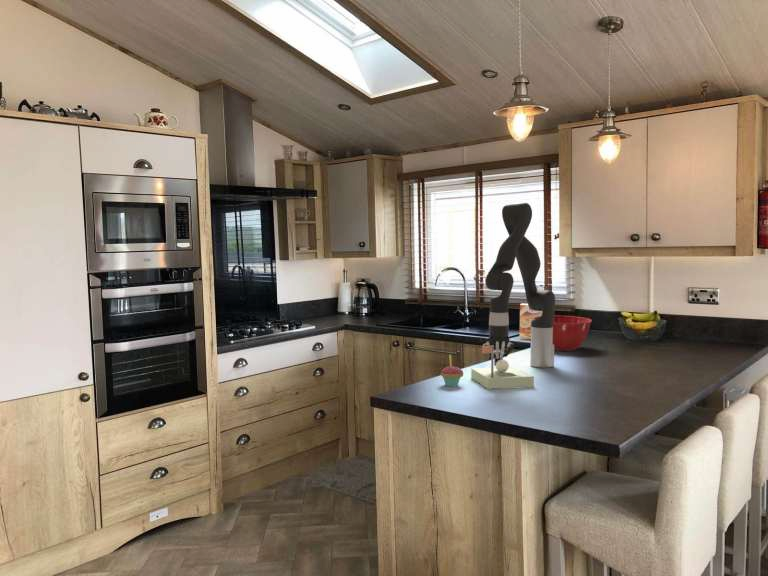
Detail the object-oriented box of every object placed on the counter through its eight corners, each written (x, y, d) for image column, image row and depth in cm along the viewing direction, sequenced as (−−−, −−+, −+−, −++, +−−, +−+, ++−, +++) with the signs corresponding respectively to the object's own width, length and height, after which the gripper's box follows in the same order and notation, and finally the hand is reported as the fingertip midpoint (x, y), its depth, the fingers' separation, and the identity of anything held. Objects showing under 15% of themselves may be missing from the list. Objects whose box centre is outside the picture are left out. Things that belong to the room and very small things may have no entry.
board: (513, 376, 253) (514, 337, 251) (533, 387, 234) (534, 344, 233) (466, 378, 249) (466, 338, 248) (482, 389, 230) (483, 346, 229)
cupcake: (436, 383, 240) (437, 352, 239) (456, 381, 243) (457, 351, 242) (447, 388, 232) (447, 356, 231) (467, 386, 235) (467, 354, 234)
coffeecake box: (519, 339, 350) (519, 304, 348) (520, 337, 356) (520, 303, 355) (546, 340, 345) (547, 305, 344) (547, 338, 352) (548, 304, 351)
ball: (505, 358, 244) (510, 360, 239) (505, 370, 244) (510, 373, 239) (493, 358, 243) (498, 360, 238) (493, 371, 243) (498, 374, 238)
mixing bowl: (598, 354, 303) (599, 322, 302) (539, 353, 304) (540, 322, 303) (581, 344, 331) (582, 315, 330) (527, 344, 332) (527, 315, 331)
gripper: (511, 321, 248) (510, 365, 249) (479, 322, 245) (478, 366, 247) (518, 324, 240) (518, 369, 242) (485, 325, 238) (485, 370, 239)
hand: (498, 367), depth 244 cm, fingers closed
